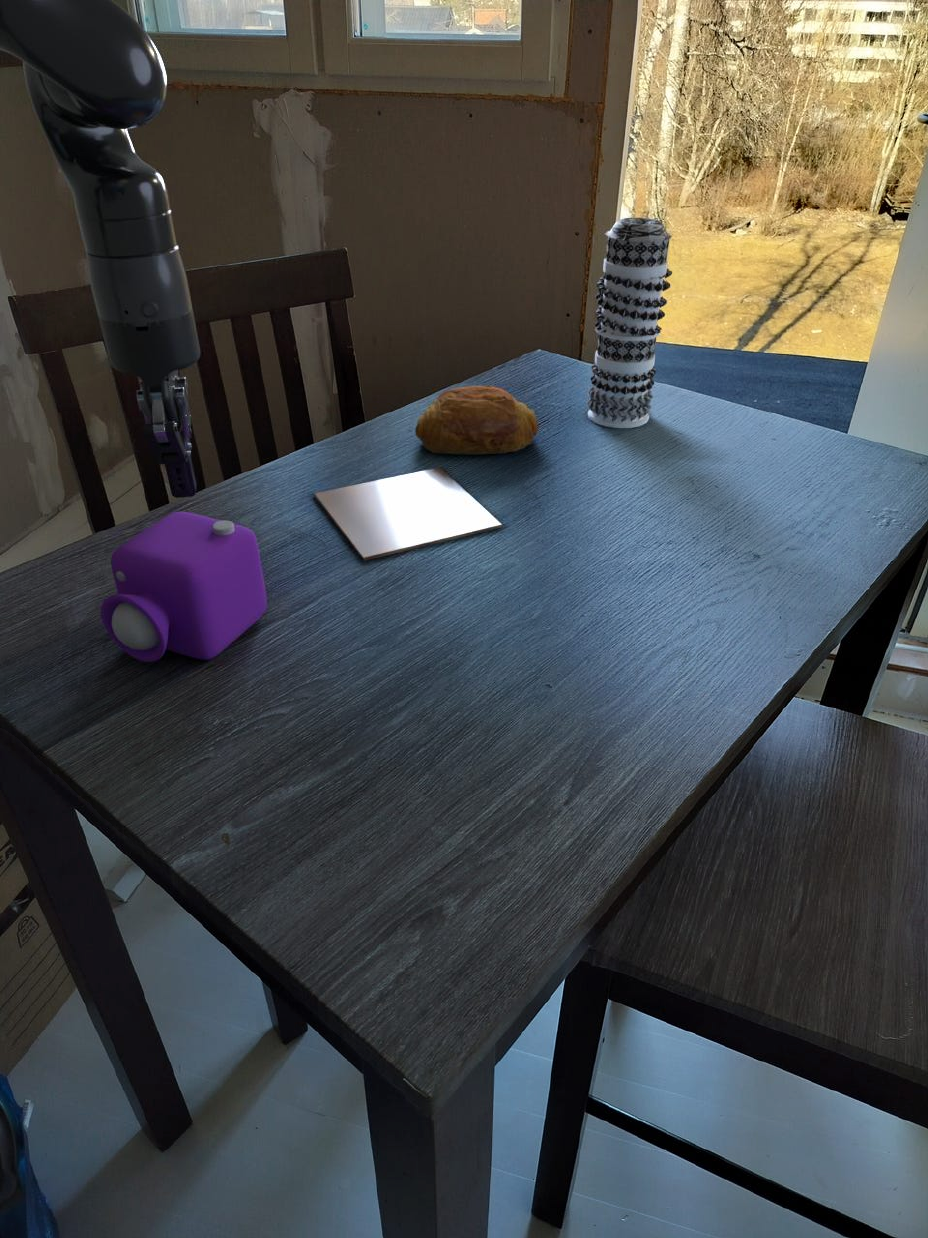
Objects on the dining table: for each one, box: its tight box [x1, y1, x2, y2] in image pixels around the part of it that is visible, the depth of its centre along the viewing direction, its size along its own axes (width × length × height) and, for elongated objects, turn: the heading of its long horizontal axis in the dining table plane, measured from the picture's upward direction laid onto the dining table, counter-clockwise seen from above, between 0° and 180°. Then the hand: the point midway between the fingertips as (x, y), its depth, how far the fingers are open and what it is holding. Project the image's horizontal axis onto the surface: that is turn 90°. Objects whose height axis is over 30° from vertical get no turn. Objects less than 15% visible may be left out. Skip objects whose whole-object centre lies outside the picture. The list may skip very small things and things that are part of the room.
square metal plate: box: [313, 466, 503, 562], centre depth 95 cm, size 16×16×1 cm
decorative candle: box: [587, 217, 673, 429], centre depth 111 cm, size 9×9×25 cm
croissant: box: [414, 384, 539, 455], centre depth 110 cm, size 14×16×8 cm
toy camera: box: [100, 511, 268, 663], centre depth 73 cm, size 11×14×10 cm
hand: (184, 493), depth 81 cm, fingers closed
